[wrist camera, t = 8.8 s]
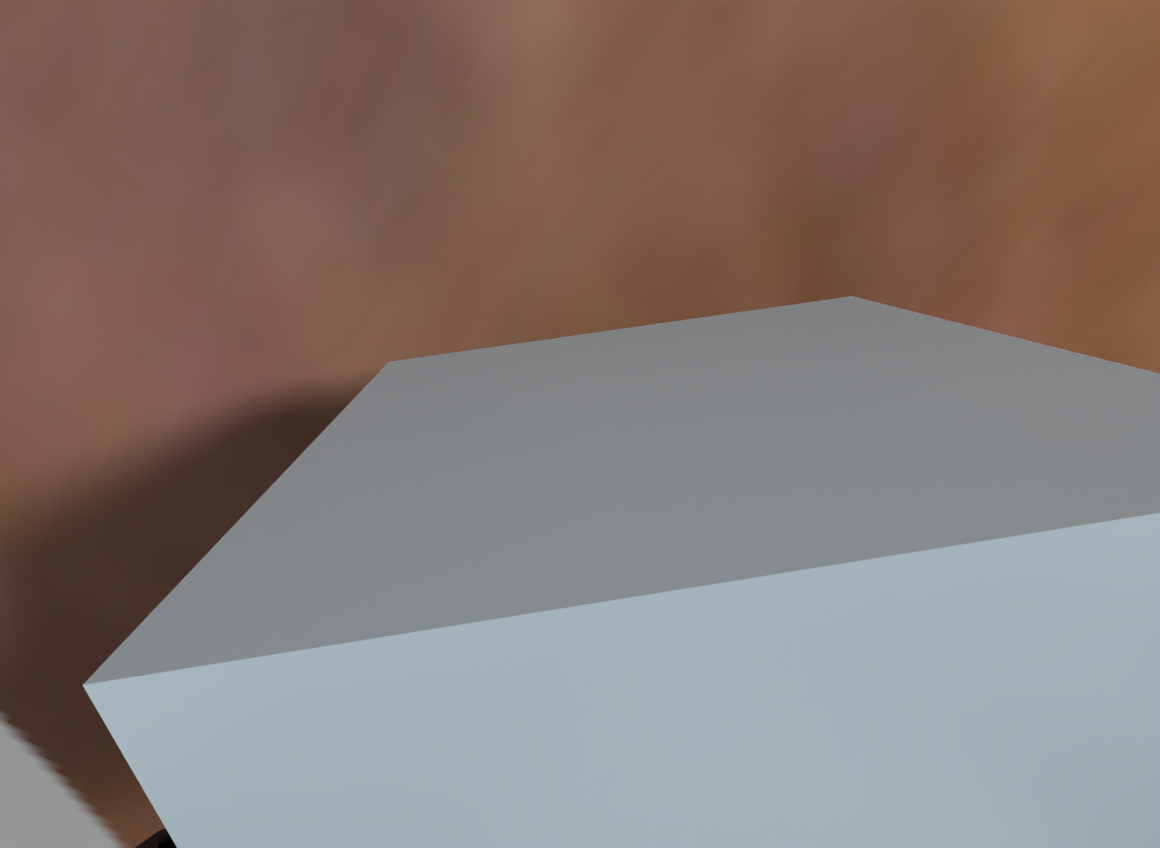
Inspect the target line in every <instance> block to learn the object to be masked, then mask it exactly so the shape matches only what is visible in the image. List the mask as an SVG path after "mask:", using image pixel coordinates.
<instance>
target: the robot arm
mask: <svg viewBox="0 0 1160 848" xmlns="http://www.w3.org/2000/svg"><path fill="white" fill-rule="evenodd" d="M136 848H177V847H176V845H175V843H174V842H173V840H172V838H171V836H170V835H169V833H168V831H167V829H166V828H165V829H163V830H160V831H158V832H157V833H156V834H154V835H153V836H151V837H150V838H148V839H147V840H146V841H144V842H143V843H141V844H140V845H138V846H137V847H136Z"/></svg>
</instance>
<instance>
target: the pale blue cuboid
mask: <svg viewBox="0 0 1160 848" xmlns="http://www.w3.org/2000/svg"><path fill="white" fill-rule="evenodd" d="M83 687H84V688H85V690H86V692H87V694H88V695H89V697H90V699H91V701H92V702H93V704H94V706H95V707H96V709H97V711H98V713H99V714H100V716H101V718H102V719H103V721H104V723H105V725H106V726H107V728H108V730H109V731H110V733H111V735H112V737H113V738H114V740H115V742H116V744H117V745H118V747H119V749H120V750H121V752H122V754H123V756H124V757H125V759H126V761H127V762H128V764H129V766H130V768H131V769H132V771H133V773H134V774H135V776H136V778H137V780H138V781H139V783H140V785H141V786H142V788H143V790H144V792H145V793H146V795H147V797H148V799H149V800H150V802H151V804H152V805H153V807H154V809H155V811H156V812H157V814H158V816H159V817H160V819H161V821H162V823H163V824H164V826H165V828H166V829H167V831H168V833H169V835H170V836H171V838H172V840H173V842H174V843H175V845H176V847H177V848H1160V374H1159V373H1155V372H1151V371H1147V370H1143V369H1139V368H1135V367H1131V366H1127V365H1123V364H1119V363H1115V362H1111V361H1108V360H1104V359H1100V358H1096V357H1092V356H1088V355H1084V354H1080V353H1076V352H1072V351H1068V350H1064V349H1060V348H1056V347H1052V346H1048V345H1044V344H1040V343H1036V342H1032V341H1028V340H1024V339H1020V338H1016V337H1012V336H1008V335H1004V334H1000V333H996V332H992V331H988V330H984V329H980V328H976V327H972V326H968V325H964V324H960V323H956V322H952V321H948V320H944V319H940V318H936V317H932V316H929V315H925V314H921V313H917V312H913V311H909V310H905V309H901V308H897V307H893V306H889V305H885V304H881V303H877V302H873V301H869V300H865V299H861V298H857V297H853V296H850V297H843V298H836V299H829V300H822V301H815V302H808V303H801V304H794V305H787V306H780V307H773V308H766V309H759V310H752V311H744V312H737V313H730V314H723V315H716V316H709V317H702V318H695V319H688V320H681V321H674V322H667V323H660V324H653V325H646V326H639V327H631V328H624V329H617V330H610V331H603V332H596V333H589V334H582V335H575V336H568V337H561V338H554V339H547V340H540V341H533V342H526V343H518V344H511V345H504V346H497V347H490V348H483V349H476V350H469V351H462V352H455V353H448V354H441V355H434V356H427V357H420V358H413V359H405V360H398V361H391V362H388V363H387V364H386V365H385V366H384V367H383V368H382V369H381V370H380V372H379V373H378V374H377V375H376V376H375V377H374V378H373V379H372V380H371V381H370V382H369V383H368V384H367V385H366V386H365V387H364V388H363V389H362V391H361V392H360V393H359V394H358V395H357V396H356V397H355V398H354V399H353V400H352V401H351V402H350V403H349V404H348V405H347V406H346V407H345V408H344V410H343V411H342V412H341V413H340V414H339V415H338V416H337V417H336V418H335V419H334V420H333V421H332V422H331V423H330V424H329V425H328V426H327V427H326V429H325V430H324V431H323V432H322V433H321V434H320V435H319V436H318V437H317V438H316V439H315V440H314V441H313V442H312V443H311V444H310V445H309V446H308V448H307V449H306V450H305V451H304V452H303V453H302V454H301V455H300V456H299V457H298V458H297V459H296V460H295V461H294V462H293V463H292V464H291V465H290V467H289V468H288V469H287V470H286V471H285V472H284V473H283V474H282V475H281V476H280V477H279V478H278V479H277V480H276V481H275V482H274V483H273V484H272V486H271V487H270V488H269V489H268V490H267V491H266V492H265V493H264V494H263V495H262V496H261V497H260V498H259V499H258V500H257V501H256V502H255V503H254V505H253V506H252V507H251V508H250V509H249V510H248V511H247V512H246V513H245V514H244V515H243V516H242V517H241V518H240V519H239V520H238V521H237V522H236V524H235V525H234V526H233V527H232V528H231V529H230V530H229V531H228V532H227V533H226V534H225V535H224V536H223V537H222V538H221V539H220V540H219V541H218V543H217V544H216V545H215V546H214V547H213V548H212V549H211V550H210V551H209V552H208V553H207V554H206V555H205V556H204V557H203V558H202V559H201V560H200V562H199V563H198V564H197V565H196V566H195V567H194V568H193V569H192V570H191V571H190V572H189V573H188V574H187V575H186V576H185V577H184V578H183V579H182V581H181V582H180V583H179V584H178V585H177V586H176V587H175V588H174V589H173V590H172V591H171V592H170V593H169V594H168V595H167V596H166V597H165V598H164V600H163V601H162V602H161V603H160V604H159V605H158V606H157V607H156V608H155V609H154V610H153V611H152V612H151V613H150V614H149V615H148V616H147V617H146V619H145V620H144V621H143V622H142V623H141V624H140V625H139V626H138V627H137V628H136V629H135V630H134V631H133V632H132V633H131V634H130V635H129V636H128V638H127V639H126V640H125V641H124V642H123V643H122V644H121V645H120V646H119V647H118V648H117V649H116V650H115V651H114V652H113V653H112V654H111V655H110V657H109V658H108V659H107V660H106V661H105V662H104V663H103V664H102V665H101V666H100V667H99V668H98V669H97V670H96V671H95V672H94V673H93V674H92V676H91V677H90V678H89V679H88V680H87V681H86V682H85V683H84V684H83Z"/></svg>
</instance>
